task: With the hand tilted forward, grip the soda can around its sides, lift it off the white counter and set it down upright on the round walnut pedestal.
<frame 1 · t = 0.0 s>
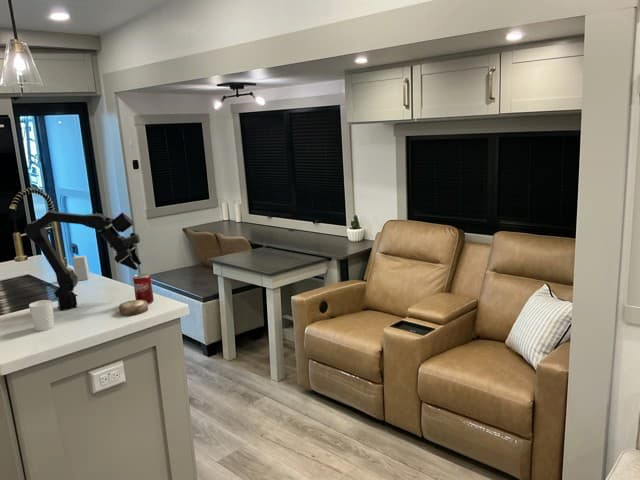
hand: (138, 266, 229), 15 cm above the countertop, tool tilted 35°, fingers open, 9 cm apart
skincare box: (82, 279, 272), on the countertop
soda can: (145, 303, 227), on the countertop
white cup: (44, 328, 204), on the countertop
pedestal: (134, 311, 217), on the countertop
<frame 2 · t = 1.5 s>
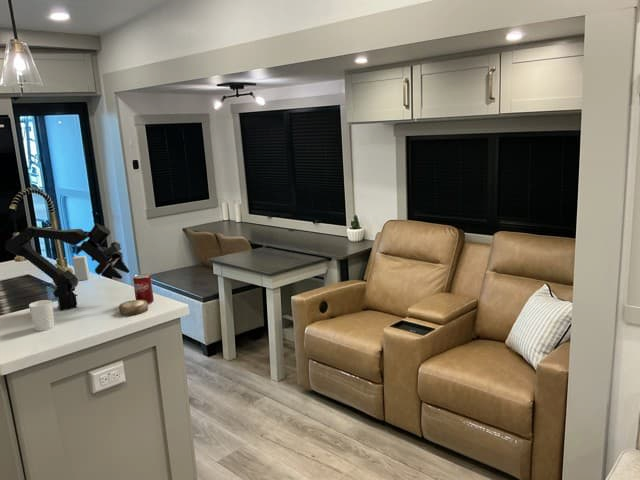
hand: (125, 275, 225), 13 cm above the countertop, tool tilted 45°, fingers open, 9 cm apart
nothing on the countertop moved.
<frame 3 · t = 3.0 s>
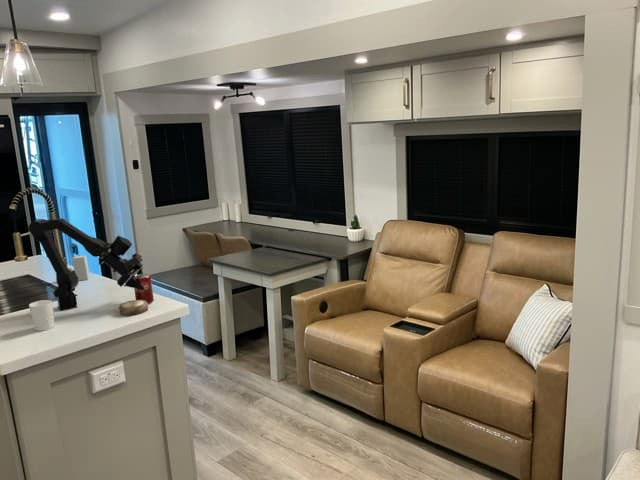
hand: (146, 286, 226), 7 cm above the countertop, tool tilted 45°, fingers closed on soda can, 7 cm apart
soda can: (145, 303, 227), on the countertop, touching gripper
everything else where it was.
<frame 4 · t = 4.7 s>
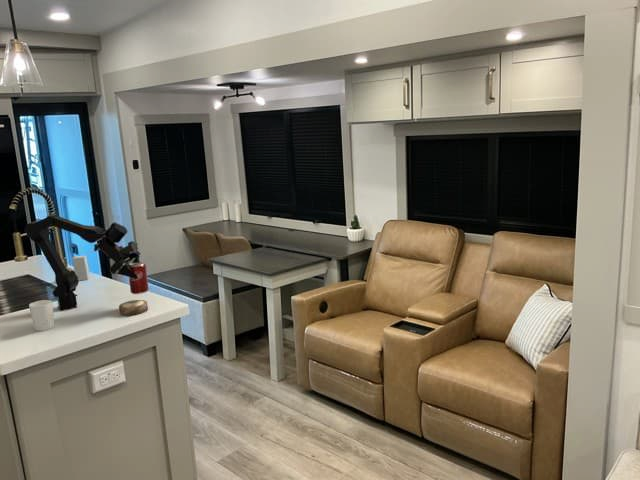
hand: (140, 275, 221), 13 cm above the countertop, tool tilted 45°, fingers closed on soda can, 7 cm apart
soda can: (139, 292, 222), point 6 cm above the countertop, touching gripper
everything else where it was.
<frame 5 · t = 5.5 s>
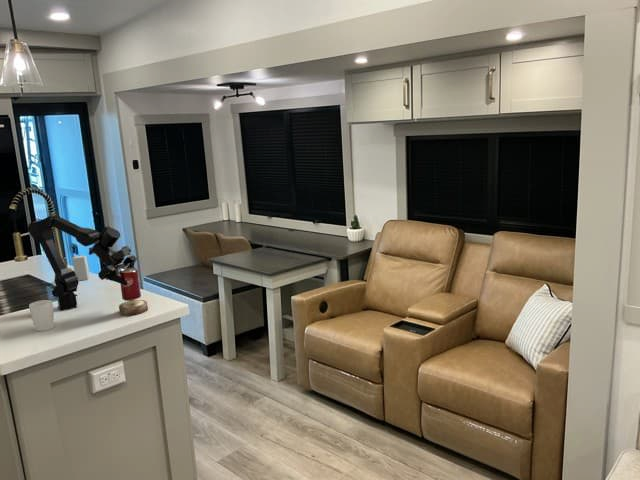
hand: (132, 281, 214), 13 cm above the countertop, tool tilted 45°, fingers closed on soda can, 7 cm apart
soda can: (131, 299, 216), point 5 cm above the countertop, touching gripper
everything else where it was.
when the fingers open (11 cm above the countertop, at t = 6.4 s): soda can stays where it is, resting on pedestal.
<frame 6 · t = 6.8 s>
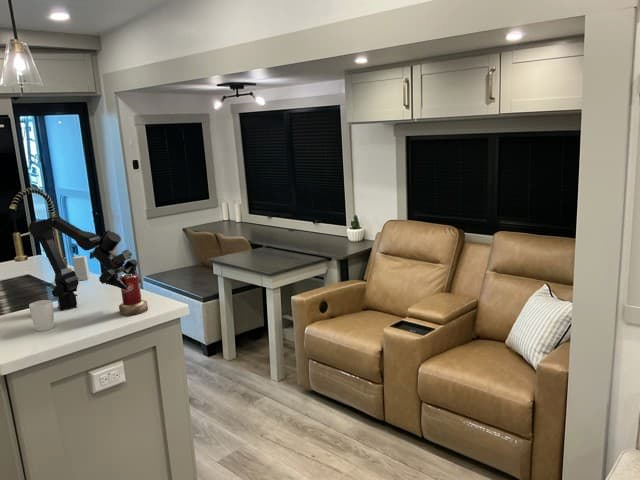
hand: (133, 285, 214), 11 cm above the countertop, tool tilted 45°, fingers open, 9 cm apart
soda can: (132, 304, 216), point 3 cm above the countertop, touching pedestal
everything else where it was.
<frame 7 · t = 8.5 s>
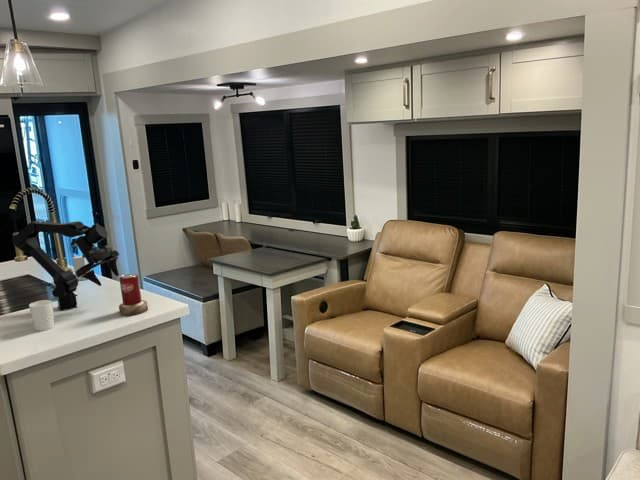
hand: (109, 280, 220), 12 cm above the countertop, tool tilted 30°, fingers open, 9 cm apart
nothing on the countertop moved.
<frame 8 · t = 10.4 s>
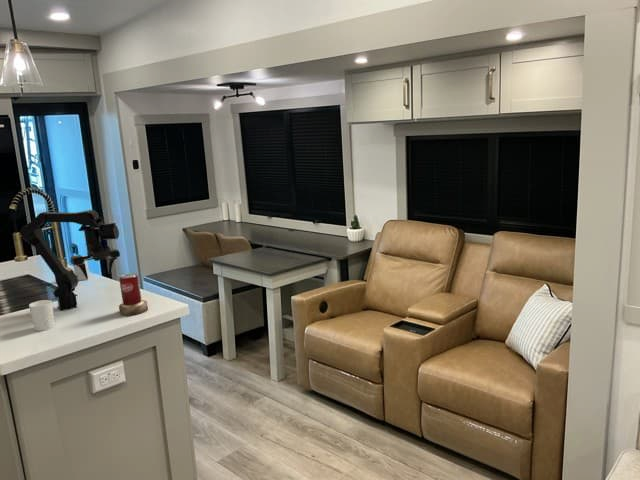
hand: (98, 276, 224), 13 cm above the countertop, tool pointing down, fingers open, 9 cm apart
nothing on the countertop moved.
at the end: soda can inside the target area on the pedestal (0.2 cm from its centre), point 3.0 cm above the pedestal's base; soda can tilted 1°; the gripper is holding nothing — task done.
